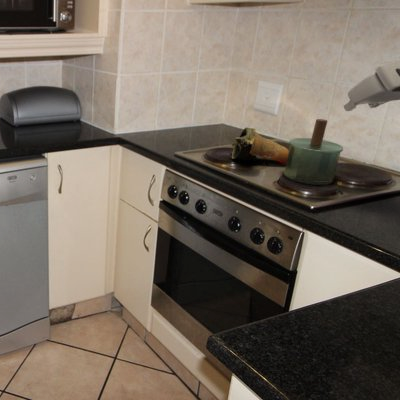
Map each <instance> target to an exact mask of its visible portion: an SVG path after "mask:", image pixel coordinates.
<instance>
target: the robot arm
mask: <svg viewBox="0 0 400 400" xmlns="http://www.w3.org/2000/svg"><path fill="white" fill-rule="evenodd" d="M347 97H348V99H349V101H348V102H347V103H345V104H343V108H344V111H345V112H352V111H353V110H355V109H356V108H357V106H359V105H367V104H368V106H369V108H370V109H376V108H378V107H380V106H381V105H384V104H387V103H389V102H393V101H394V102H395V101H400V57H398V58H397V59H394V60H392V61H389V62H385V63H382V64H380V65H379V66H377V67H376V68H375V72H373V73H371V74H369V75H367V76H366V77H364V78H363V79H362V80H361V81H359V82H358V83H357V84H355V85H354V86H353V87H352V88H350V89H349V91H348V92H347Z"/></svg>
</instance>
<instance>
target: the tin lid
mask: <svg viewBox="0 0 400 400" xmlns="http://www.w3.org/2000/svg"><path fill="white" fill-rule="evenodd" d="M314 122H315V123H314V125H313V126H314V127H313V130H312V135H311V138H309V137H296V138H291V139H290V140H288V141H289V142H288V144H289V146H290V145H291V146H293V147H295V148H298V149H301V150H305V151H310V152H317V153H339V152H341V153H342V152H343V151H344V147H343V146H342V145H341V144H339V143H337V142H333V141H329V140H325V139H324V137H325V132H326V129H327V125H328V120H327V119H323V118H317V119H316V120H315V121H314Z"/></svg>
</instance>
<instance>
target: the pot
mask: <svg viewBox="0 0 400 400" xmlns="http://www.w3.org/2000/svg"><path fill="white" fill-rule="evenodd" d="M230 146H231V147H232V155H231V159H235V160H237V161H239V162H240V161H241V162H243V161H251V160H253V161H255V160H256V159H257V158H258V157H259V158H263V157H265V158H267V159H269V158H271V159H273V160H275V161H276V162H279V163H281V164H282V165H286V162H287V157H288V153H289V149H288V148H287V147H285V146H283V145H282V144H279V143H278V142H276V141H273V140H271V139H268V138H266V137H263V136H261V134H259V133H258V132H257V131H256V128H253V127H246V126H245V127H244V128H243V130H242V132H241V133H240V135H239V136H237V137H235V141H234V142H233V143H231V144H230Z"/></svg>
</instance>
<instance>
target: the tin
mask: <svg viewBox="0 0 400 400" xmlns="http://www.w3.org/2000/svg"><path fill="white" fill-rule="evenodd" d="M288 150H289V153H288V157H287V162H286V163H285V167H284V171H283V175H284V177H285V178H287V180H290V181H292V182H293V181H294V182H296V183H299V184H304V185H310V186H328V185H331V184H332V183H333V182H334V180H335V179H334V178H335V175H336V170H337V168H338V163H339V160H340V157H341V153H342V152H339V153H317V152H310V151H305V150H301V149H298V148H295V147H293V146H291V145H290V144H289V149H288ZM291 176H292V177H291ZM294 177H296V178H294ZM297 178H302V179H308V180H316V181H328V182H312V181H305V180H301V179H297Z"/></svg>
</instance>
